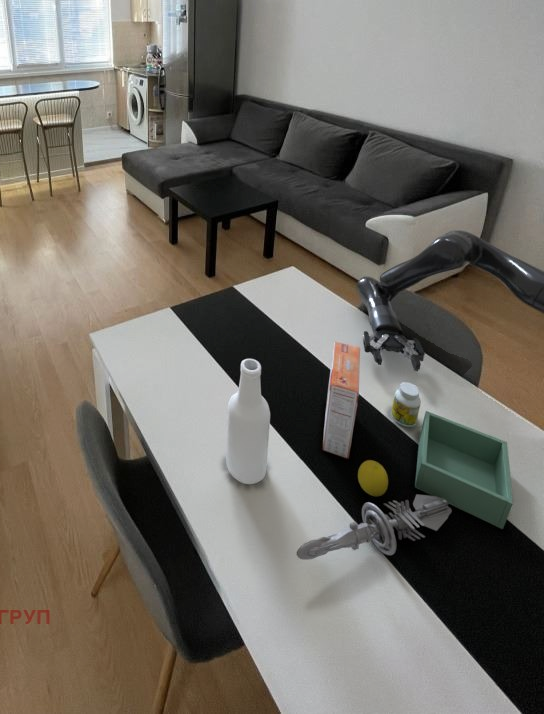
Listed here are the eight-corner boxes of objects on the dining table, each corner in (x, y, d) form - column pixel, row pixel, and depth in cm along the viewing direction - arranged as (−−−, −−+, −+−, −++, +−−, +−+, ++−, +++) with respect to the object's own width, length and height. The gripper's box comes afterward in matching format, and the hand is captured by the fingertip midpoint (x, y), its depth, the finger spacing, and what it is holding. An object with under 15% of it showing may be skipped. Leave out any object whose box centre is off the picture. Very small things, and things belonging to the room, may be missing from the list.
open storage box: (497, 466, 93) (506, 442, 91) (502, 529, 82) (513, 504, 80) (419, 433, 101) (425, 410, 98) (414, 487, 90) (421, 463, 87)
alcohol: (273, 465, 96) (282, 363, 85) (252, 495, 91) (258, 390, 80) (240, 440, 102) (244, 342, 91) (218, 467, 96) (219, 366, 85)
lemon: (352, 475, 93) (357, 450, 90) (380, 480, 92) (386, 454, 89) (359, 502, 88) (364, 476, 85) (388, 507, 87) (394, 481, 84)
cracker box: (325, 403, 110) (334, 339, 103) (351, 411, 108) (361, 346, 100) (320, 450, 99) (329, 383, 91) (348, 460, 96) (360, 392, 89)
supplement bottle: (421, 425, 103) (428, 396, 100) (401, 429, 102) (408, 400, 99) (404, 406, 108) (411, 378, 105) (385, 410, 107) (391, 382, 104)
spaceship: (282, 516, 80) (309, 550, 72) (429, 472, 89) (466, 498, 81) (285, 559, 79) (313, 598, 72) (431, 510, 89) (470, 540, 81)
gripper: (360, 310, 126) (370, 350, 112) (414, 317, 122) (432, 359, 108) (356, 330, 129) (366, 371, 115) (410, 338, 125) (427, 381, 110)
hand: (398, 365), depth 111 cm, fingers open, 8 cm apart
